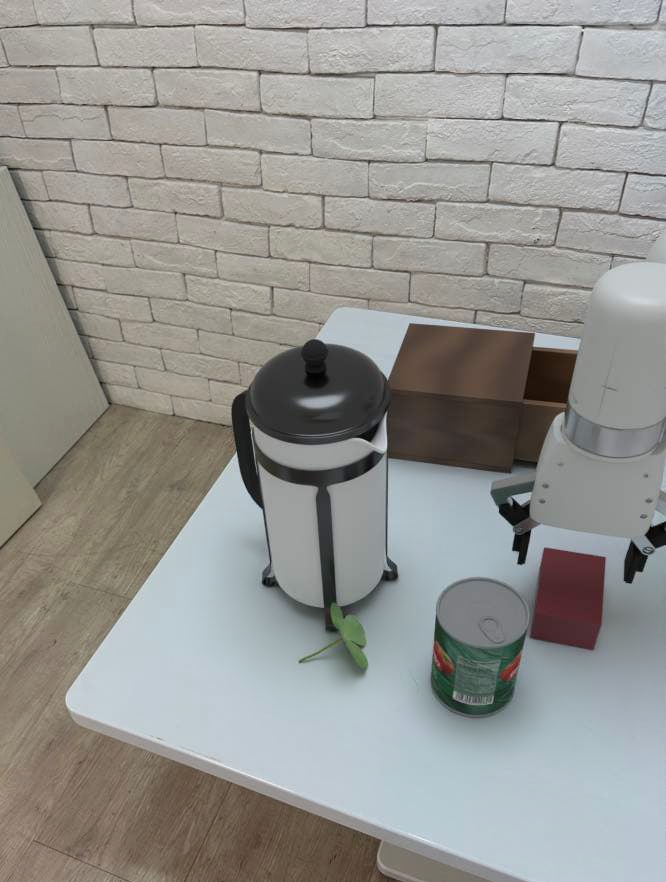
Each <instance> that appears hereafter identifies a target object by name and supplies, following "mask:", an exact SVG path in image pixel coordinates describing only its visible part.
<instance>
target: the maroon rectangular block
mask: <svg viewBox="0 0 666 882" xmlns="http://www.w3.org/2000/svg"><path fill="white" fill-rule="evenodd" d="M606 560H607V557H606V556H602V555H596V554H589V553H582V552H576V551H571V550H570V551H569V550H565V549H557V548H551V547H546V546H545V547H544V546H543V550H542V555H541V560H540V565H539V569H538V574H537V582H536V589H535V596H534V602H533V603H534V604H533V610H532V618H531V624H530V625H531V626H530V632H529V639H535V640H540V641H545V642H550V643H555V644H560V645H566V646H570V647H576V648H581V649H586V650H592V651H594V650H595V646H596V644H597V642H598V638H599V634H600V631H601V628H602V625H603V609H604V608H603V607H604V593H605V580H606V579H605V577H606V563H607V562H606Z"/></svg>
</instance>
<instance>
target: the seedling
mask: <svg viewBox="0 0 666 882" xmlns="http://www.w3.org/2000/svg"><path fill="white" fill-rule="evenodd" d="M331 618H332V622H333V624H334V626H335V627H336V628H337V629H338V630H337V631H338V632H339V633H340V635H341V637H340V639H337V640H335V641H333V642H331V643H330V644H328V645H326V646H325V647H323V648H322V649H319V650H318V651H316V652H314V653H312V654H310V655H308V656H305V657H303V658H301V659H299V660H298V663H302V662H304V661H306V660H308V659H310V658H312V657H315V656H317V655H319V654H321V653H322V652H324V651H326V650H328V649H329V648H330V647H332V646H334V645H336V644H339V643H340V642H342V641H344V643H345V645H346V647H347V649H348V651H349V653H350V654H351V656H352V658H353V659H354V661H355V663H356V664H357V665H358V666H359V667H360V668H363V669H367V667H368V666H369V662H368V658H367V656H366V654H365V652H364V651H363V650H362V648H360V647H359V646H358V645H360V646H363V647H365V646H366V645H367V639H366V632H365V629H364V627H363V625H362V623H361V621H360V620H359V619H358V618H357V617H356V616H355V615H353V614H348V615H346V616H345V618H344V615H343V611H342V609H341V607H339V606H338V605H337V604H336V603H335V602H333V603H332V605H331Z"/></svg>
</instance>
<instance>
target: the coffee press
mask: <svg viewBox="0 0 666 882" xmlns="http://www.w3.org/2000/svg"><path fill="white" fill-rule="evenodd" d="M390 399H391V390H390V385H389V382H388V378H387V376H386V375H385V373H384V372H383V371H382V370H381V369H380V368H379V366H378V364H377V363H376V362H375V361H374V360H373V359H372V358H370V357H369V356H368V355H367V354H365V353H363V352H362V351H360V350H358V349H355V348H353V347H350V346H347V345H342V344H337V343H326V342H324V341H322V340H320V339H317V338H312V339H309V340H307V341H306V342H305V343H304V344H302V345H298V346H295V347H292V348H289V349H286V350H284V351H282V352H280V353H278V354H276V355H274V356H273V357H271V358H270V359H268V360H267V361H266V362H265V363H264V364H262V366H260V367H259V369H258V371H257V372H256V373H255V375H254V378H253V380H252V382H250V384H249V386H248V388H247V389H246V390H245V389H244V391H242V392H240V393H239V394H237V395H236V396H235V397H234V399H233V401H232V402H231V410H230V413H231V414H230V415H231V422H232V423H231V425H232V432H233V438H234V444H235V445H234V446H235V451H236V457H237V462H238V467H239V472H240V473H239V474H240V476H241V480H242V483H243V485H244V487H245V489H246V491H247V493H248V494H249V496H250V498H251V500H252V501H253V502H254V504H256V505H257V507H259V509H261V510H262V516H263V523H264V530H265V537H266V545H267V552H268V560H269V563H268V565H266V567H265V568H264V569H263V571H262V572H261V584H262V586H264V587H267V588H272V587H275V585H277V584H278V585H279V587H280V589H282V591H284V593H285V594H287V595H288V596H289V597H290V598H292V599H294V600H295V601H297V602H299V603H301V604H303V605H306V606H310V607H315V608H321V609H322V608H323V612H324V628H325V631H339V630H338V629H337V628H336V627H335V626H334V624H333V622H332V618H331V605H332V603H333V602H335V603H336V604H337V605H338V606H339V607H340V608H341V607H344V606H349V605H352V604H354V603H357V602H359V601H360V600H362V599H363V598H365V597H366V596H368V595H369V594H370V593H372V591H373V590H374V589H375V588H376V587H377V586H378V584H379V583H380V580H381V579H383V580H385V581H388V582H393V581H396V580H398V579H399V570H398V569H399V568H398V565H397V563H395V562H394V561H393V560H392V559H390V557H389V556H388V539H389V538H388V536H389V535H388V530H389V529H388V527H389V525H388V523H389V521H388V519H389V516H388V515H389V458H388V419H387V410H388V408H389V405H390ZM251 423H252V427H251ZM385 560H386V565H387V567H388V568H389V569H390V570H386V569H385ZM272 569H273V574H274V575H273V576H270V577H268V576H269V575H270V573H271V572H272Z"/></svg>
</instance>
